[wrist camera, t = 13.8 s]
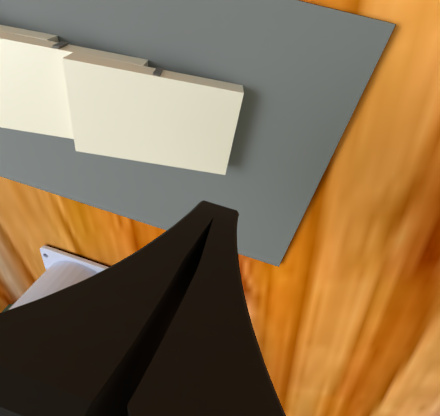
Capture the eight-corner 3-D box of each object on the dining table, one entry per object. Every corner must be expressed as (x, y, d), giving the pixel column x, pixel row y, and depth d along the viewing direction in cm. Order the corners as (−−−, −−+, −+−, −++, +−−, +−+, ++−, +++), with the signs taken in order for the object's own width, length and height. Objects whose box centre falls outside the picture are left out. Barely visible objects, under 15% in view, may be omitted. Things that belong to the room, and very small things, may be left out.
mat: (279, 262, 21) (278, 266, 21) (-121, 133, 24) (-127, 135, 24) (393, 23, 12) (395, 24, 11) (-282, -141, 15) (-295, -145, 14)
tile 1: (225, 174, 16) (75, 151, 15) (225, 164, 17) (84, 140, 16) (244, 90, 13) (61, 55, 12) (243, 82, 14) (73, 49, 13)
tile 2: (142, 150, 17) (-8, 125, 16) (146, 140, 17) (5, 117, 17) (143, 63, 14) (-40, 28, 13) (148, 57, 15) (-23, 24, 14)
